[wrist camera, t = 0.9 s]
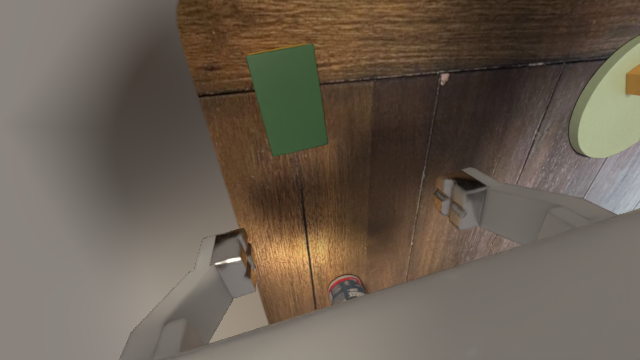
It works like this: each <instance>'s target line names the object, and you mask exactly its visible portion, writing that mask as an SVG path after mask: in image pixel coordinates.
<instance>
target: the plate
mask: <svg viewBox="0 0 640 360" xmlns="http://www.w3.org/2000/svg"><path fill="white" fill-rule="evenodd" d="M639 64H640V35H639V36H637V37H636V38H634V39H632V40H630V41H629V42H628V43H626V44H625V45H623V46H622V47H621V48H620V49H618V50H617V51H616V52H615V53H614V54H613V55H612V56H611V57H610V58H608V59H607V60H606V61H605V63H604V64H603V65H602V66H601V67H600V68H599V69H598V70H597V72H596V73H595V74H594V75H593V77H592V78H591V79H590V81H589V82H588V84H587V85H586V87H585V88H584V90H583V92H582V93H581V95H580V97H579V99H578V101H577V103H576V105H575V108H574V110H573V113H572V116H571V120H570V125H569V140H570V143H571V145H572V147H573V149H574V150H575V151H577V152H578V153H580V154H583V155H586V156H589V157H592V158H604V157H609V156H612V155H615V154H617V153H619V152H622V151H623V150H625V149H627V148H629V147H630V146H632V145H633V144H635V143H636V142H638V141H639V140H640V96H638V95H630V94H626V74H627V73H628V72H629V71H631V70H632V69H634V68H635V67H636V66H638V65H639Z"/></svg>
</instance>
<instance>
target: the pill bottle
mask: <svg viewBox="0 0 640 360" xmlns="http://www.w3.org/2000/svg"><path fill="white" fill-rule="evenodd" d="M328 294H329V298H330V302H331V305H334V304H337V303H340V302H343V301H346V300H350V299H353V298H356V297H359V296H362V295H366V292H365V290H364V288H363V286H362V283H361V281H360V280H359V278H358V277H356V276H354V275H344V276H340V277H338V278H336V279H335V280H334V281H332V283H331V284H330V285H329V288H328Z"/></svg>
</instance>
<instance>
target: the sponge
mask: <svg viewBox="0 0 640 360" xmlns="http://www.w3.org/2000/svg"><path fill="white" fill-rule="evenodd" d="M246 60H247V64H248V67H249V71H250V74H251V78H252V82H253V85H254V89H255V93H256V96H257V100H258V104H259V107H260V111H261V115H262V118H263V122H264V125H265V129H266V133H267V136H268V140H269V144H270V147H271V151H272V155H273V157H275V156H279V155H283V154H287V153H292V152H296V151H300V150H305V149H309V148H313V147H317V146H322V145H326V144H328V140H327V133H326V126H325V119H324V112H323V106H322V99H321V92H320V85H319V78H318V72H317V65H316V58H315V51H314V45H313V44H299V45H293V46H288V47H282V48H277V49H271V50H266V51H260V52H255V53H250V54H247V55H246Z"/></svg>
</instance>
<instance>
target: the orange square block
mask: <svg viewBox="0 0 640 360" xmlns="http://www.w3.org/2000/svg"><path fill="white" fill-rule="evenodd" d="M626 94H630V95H638V96H640V64H639V65H638V66H636V67H635V68H634V69H632V70H631V71H629V72H628V73H627V74H626Z"/></svg>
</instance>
